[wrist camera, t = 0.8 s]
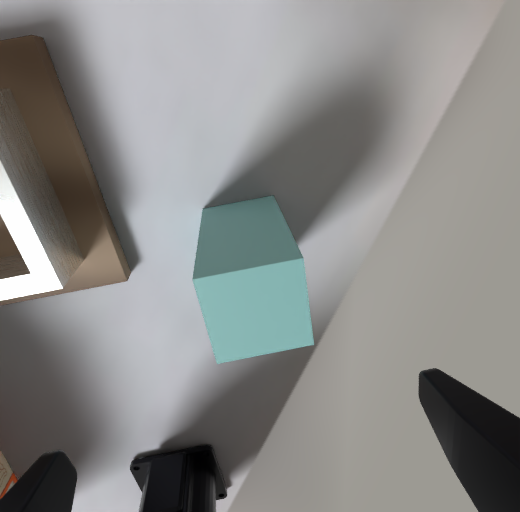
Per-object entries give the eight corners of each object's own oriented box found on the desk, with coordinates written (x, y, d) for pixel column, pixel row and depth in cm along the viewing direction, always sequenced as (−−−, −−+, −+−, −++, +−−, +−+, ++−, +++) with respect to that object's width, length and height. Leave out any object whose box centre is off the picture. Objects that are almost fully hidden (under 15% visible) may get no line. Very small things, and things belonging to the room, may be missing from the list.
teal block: (282, 258, 22) (313, 344, 14) (218, 270, 21) (217, 363, 14) (273, 195, 20) (303, 257, 13) (202, 208, 20) (192, 279, 13)
